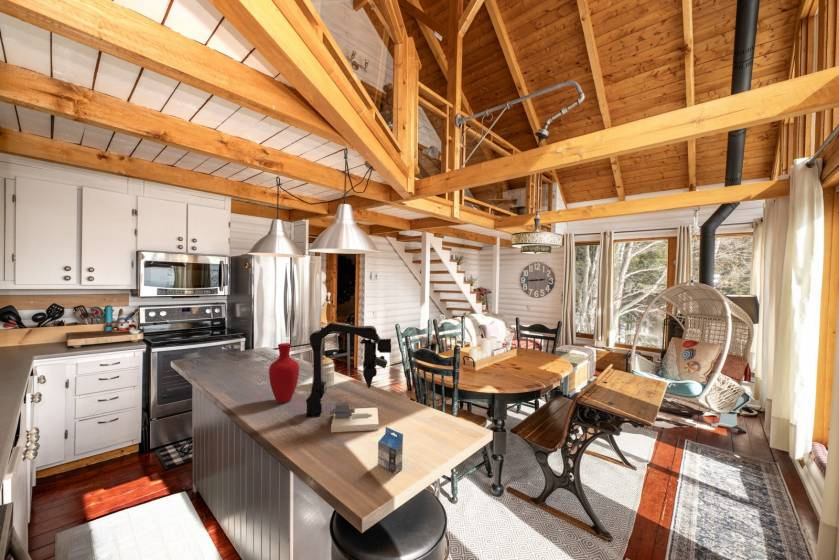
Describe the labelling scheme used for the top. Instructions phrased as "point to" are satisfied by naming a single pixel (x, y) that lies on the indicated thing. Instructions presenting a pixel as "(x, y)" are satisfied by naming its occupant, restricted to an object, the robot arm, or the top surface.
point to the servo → (342, 410)
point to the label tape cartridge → (391, 451)
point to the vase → (284, 375)
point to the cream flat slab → (357, 421)
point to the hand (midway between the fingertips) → (368, 384)
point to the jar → (327, 371)
